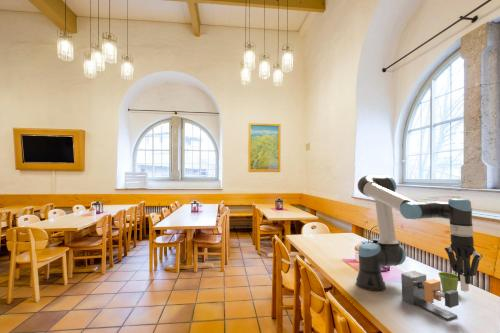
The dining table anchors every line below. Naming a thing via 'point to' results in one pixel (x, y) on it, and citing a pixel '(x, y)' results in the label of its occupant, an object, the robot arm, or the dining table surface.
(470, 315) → the dining table surface
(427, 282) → the block
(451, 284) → the plant pot
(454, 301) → the shaft
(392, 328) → the dining table surface
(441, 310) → the block
